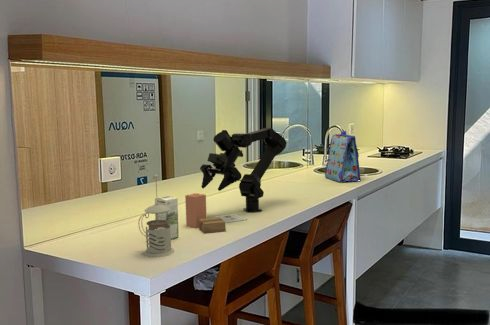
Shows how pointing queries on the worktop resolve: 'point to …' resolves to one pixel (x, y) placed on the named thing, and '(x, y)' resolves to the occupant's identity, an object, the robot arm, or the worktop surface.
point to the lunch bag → (343, 159)
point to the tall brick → (195, 209)
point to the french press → (157, 231)
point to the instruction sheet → (231, 218)
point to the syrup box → (169, 214)
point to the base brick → (212, 225)
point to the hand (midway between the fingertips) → (210, 189)
